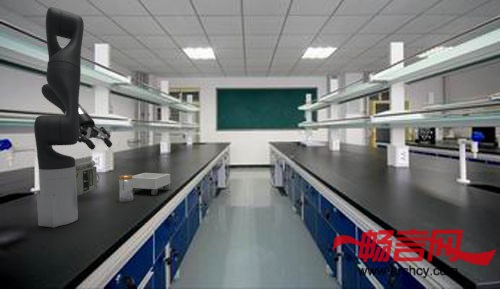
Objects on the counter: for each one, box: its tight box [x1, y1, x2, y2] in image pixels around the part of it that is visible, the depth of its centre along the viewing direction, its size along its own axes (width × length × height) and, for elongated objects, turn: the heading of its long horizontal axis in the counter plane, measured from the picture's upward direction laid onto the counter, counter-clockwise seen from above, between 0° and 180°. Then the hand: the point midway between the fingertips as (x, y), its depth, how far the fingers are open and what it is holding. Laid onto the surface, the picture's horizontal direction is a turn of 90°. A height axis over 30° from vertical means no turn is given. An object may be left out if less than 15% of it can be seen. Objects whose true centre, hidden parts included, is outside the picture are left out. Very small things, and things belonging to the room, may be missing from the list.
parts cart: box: [132, 172, 171, 196], centre depth 120 cm, size 12×14×8 cm
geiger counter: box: [75, 159, 100, 197], centre depth 121 cm, size 14×6×25 cm
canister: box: [118, 174, 134, 203], centre depth 107 cm, size 5×5×10 cm
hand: (102, 147), depth 109 cm, fingers open, 8 cm apart
